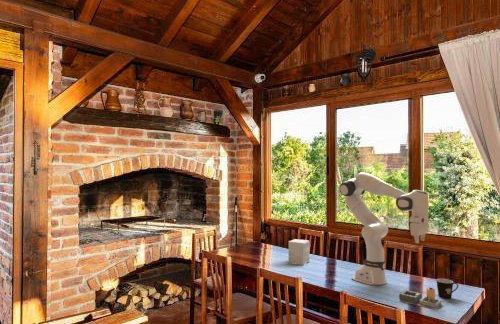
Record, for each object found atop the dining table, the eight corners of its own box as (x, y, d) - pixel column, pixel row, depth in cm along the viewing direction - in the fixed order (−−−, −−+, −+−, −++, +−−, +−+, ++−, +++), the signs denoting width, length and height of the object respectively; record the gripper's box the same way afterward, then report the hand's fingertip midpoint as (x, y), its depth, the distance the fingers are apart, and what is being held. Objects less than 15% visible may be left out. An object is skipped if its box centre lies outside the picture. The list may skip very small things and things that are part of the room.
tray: (419, 304, 194) (419, 300, 194) (424, 300, 200) (424, 296, 200) (436, 309, 188) (436, 304, 188) (441, 304, 194) (441, 300, 195)
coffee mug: (437, 299, 204) (437, 282, 205) (435, 294, 213) (435, 278, 213) (460, 302, 200) (460, 284, 201) (457, 297, 208) (457, 280, 209)
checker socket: (399, 300, 201) (399, 292, 201) (405, 296, 208) (405, 288, 208) (416, 304, 195) (416, 296, 195) (421, 300, 202) (421, 292, 202)
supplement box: (309, 262, 290) (309, 240, 290) (303, 265, 278) (303, 243, 279) (294, 259, 296) (294, 238, 297) (288, 263, 285) (288, 241, 286)
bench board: (397, 301, 201) (397, 300, 201) (404, 296, 209) (404, 295, 209) (436, 311, 187) (436, 309, 187) (442, 305, 195) (442, 304, 195)
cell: (425, 303, 194) (425, 287, 194) (428, 301, 197) (428, 286, 197) (433, 305, 191) (433, 289, 191) (436, 303, 194) (435, 287, 194)
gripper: (420, 216, 218) (420, 238, 218) (408, 219, 203) (408, 243, 203) (431, 217, 214) (431, 240, 214) (419, 220, 199) (419, 245, 199)
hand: (419, 241), depth 208 cm, fingers open, 8 cm apart
